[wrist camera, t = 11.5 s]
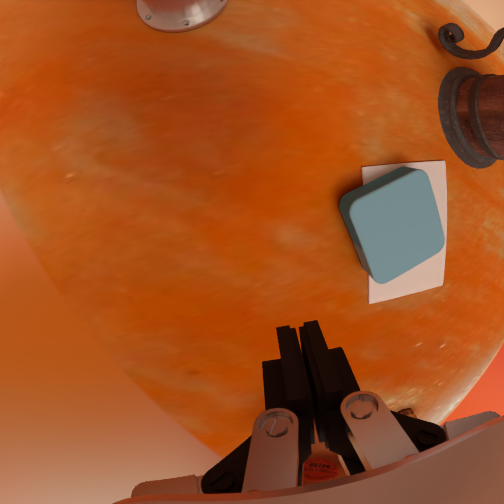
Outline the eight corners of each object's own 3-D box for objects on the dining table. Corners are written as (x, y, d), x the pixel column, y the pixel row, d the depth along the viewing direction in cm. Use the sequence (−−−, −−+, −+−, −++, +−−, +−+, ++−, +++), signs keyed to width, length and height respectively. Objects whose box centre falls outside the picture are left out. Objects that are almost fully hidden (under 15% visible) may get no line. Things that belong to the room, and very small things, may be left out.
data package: (365, 275, 40) (430, 238, 38) (377, 289, 36) (447, 247, 34) (334, 198, 36) (408, 162, 35) (345, 205, 32) (425, 165, 30)
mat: (361, 167, 35) (362, 167, 35) (443, 160, 35) (445, 160, 34) (368, 302, 42) (369, 304, 41) (441, 284, 41) (442, 284, 41)
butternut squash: (341, 384, 47) (381, 503, 24) (347, 423, 52) (377, 522, 28) (267, 404, 49) (276, 528, 25) (283, 440, 53) (294, 542, 29)
